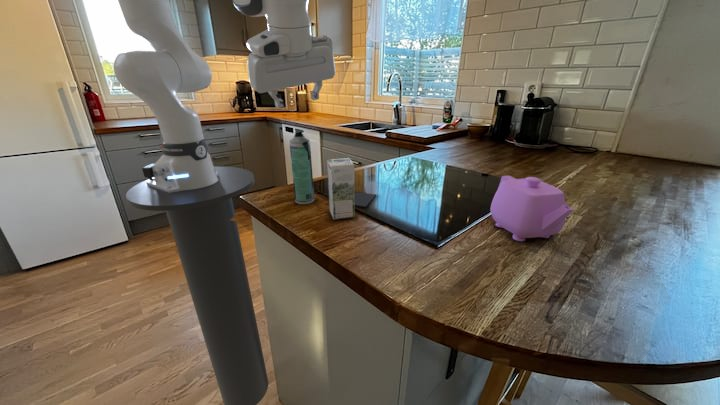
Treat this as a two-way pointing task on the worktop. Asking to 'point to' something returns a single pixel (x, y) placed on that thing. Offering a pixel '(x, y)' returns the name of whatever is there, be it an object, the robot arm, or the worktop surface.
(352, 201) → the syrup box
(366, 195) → the coaster
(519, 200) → the teapot
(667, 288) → the worktop surface
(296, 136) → the spray can
